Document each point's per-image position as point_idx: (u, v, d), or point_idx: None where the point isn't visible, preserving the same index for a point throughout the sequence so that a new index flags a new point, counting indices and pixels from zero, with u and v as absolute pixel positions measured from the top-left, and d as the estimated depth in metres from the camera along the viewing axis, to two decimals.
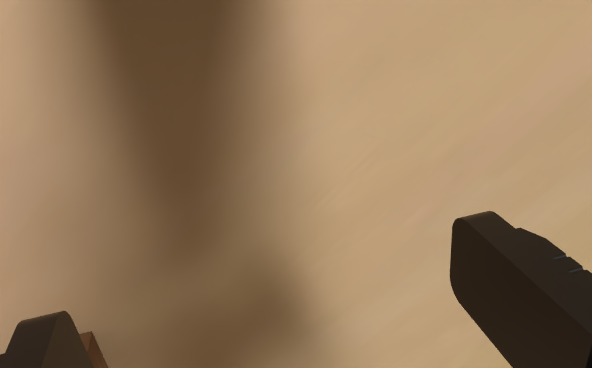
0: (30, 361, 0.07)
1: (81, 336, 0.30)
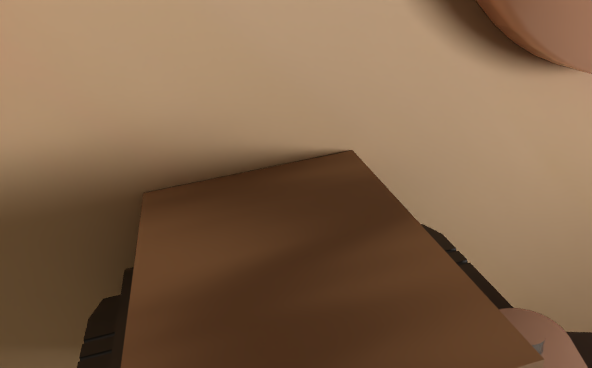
0: None
1: None
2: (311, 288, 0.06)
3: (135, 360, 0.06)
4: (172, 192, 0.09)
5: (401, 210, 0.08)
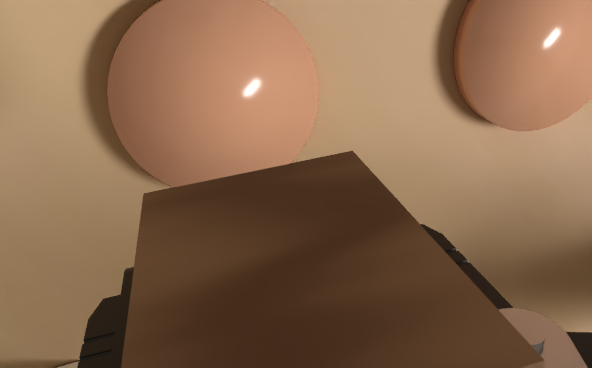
0: None
1: None
2: (312, 289, 0.06)
3: (135, 361, 0.06)
4: (172, 193, 0.09)
5: (402, 210, 0.08)
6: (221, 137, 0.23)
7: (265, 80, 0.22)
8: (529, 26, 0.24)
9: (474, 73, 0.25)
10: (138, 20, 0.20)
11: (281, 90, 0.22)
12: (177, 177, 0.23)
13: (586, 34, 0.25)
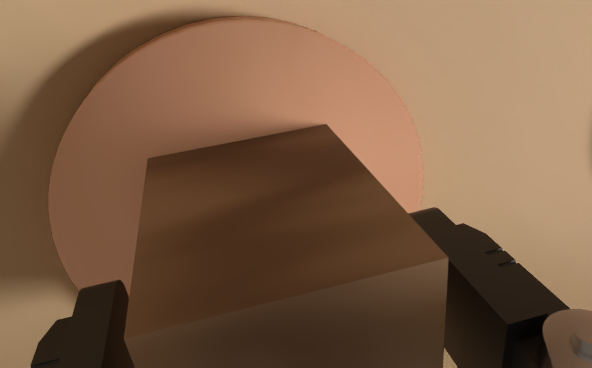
0: (98, 321, 0.08)
1: None
2: (281, 219, 0.08)
3: (143, 267, 0.07)
4: (172, 157, 0.11)
5: (360, 165, 0.09)
6: None
7: None
8: None
9: None
10: (103, 83, 0.10)
11: None
12: None
13: None
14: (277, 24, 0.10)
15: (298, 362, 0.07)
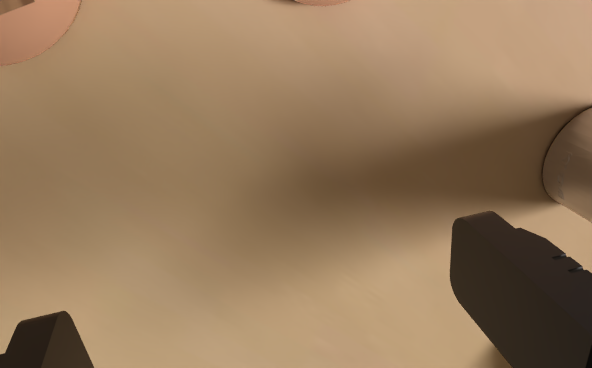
0: (30, 361, 0.07)
1: None
2: None
3: None
4: None
5: None
6: None
7: None
8: None
9: None
10: None
11: None
12: None
13: None
14: None
15: None
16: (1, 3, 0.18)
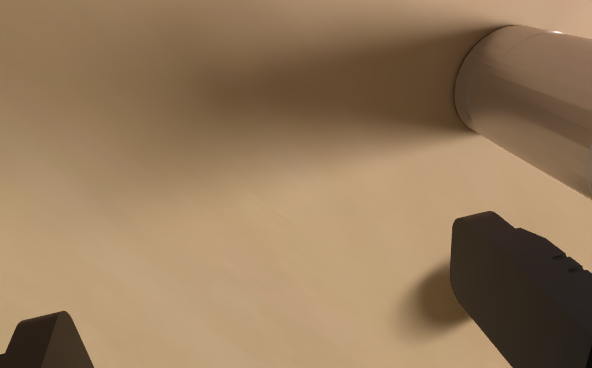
0: (30, 361, 0.07)
1: None
2: None
3: None
4: None
5: None
6: None
7: None
8: None
9: None
10: None
11: None
12: None
13: None
14: None
15: None
16: None
